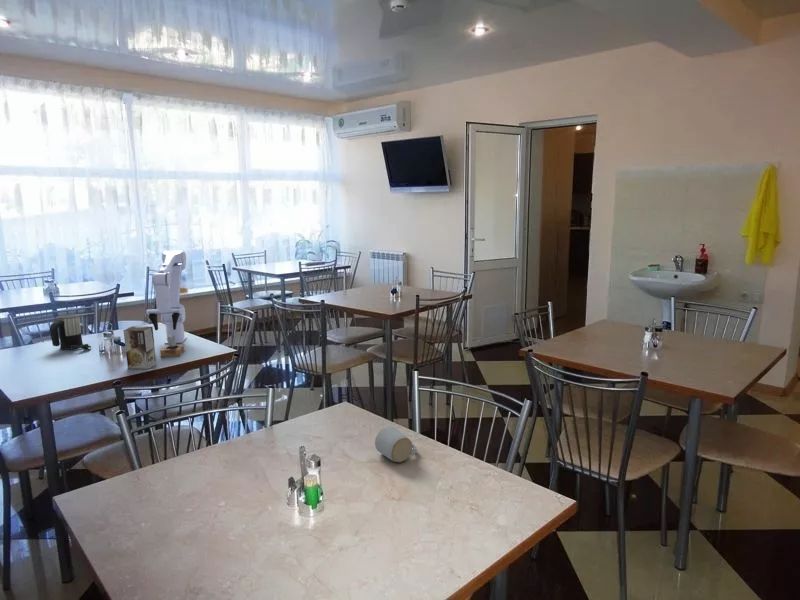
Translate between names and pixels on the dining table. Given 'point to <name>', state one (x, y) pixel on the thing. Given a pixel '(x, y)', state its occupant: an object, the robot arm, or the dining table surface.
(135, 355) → the coffee box
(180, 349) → the bead block
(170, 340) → the needle peg
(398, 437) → the ceramic mug
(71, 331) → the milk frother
